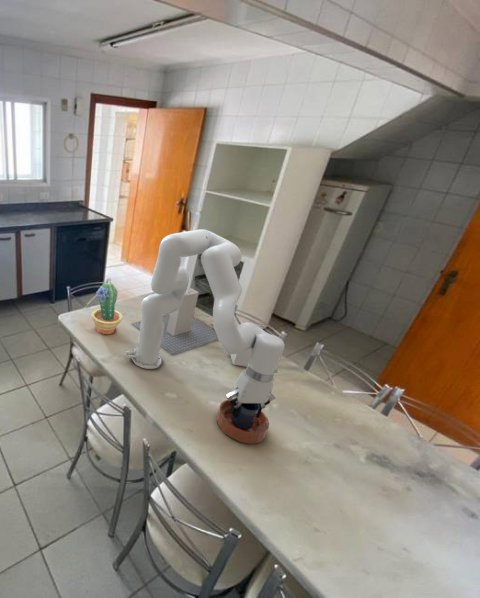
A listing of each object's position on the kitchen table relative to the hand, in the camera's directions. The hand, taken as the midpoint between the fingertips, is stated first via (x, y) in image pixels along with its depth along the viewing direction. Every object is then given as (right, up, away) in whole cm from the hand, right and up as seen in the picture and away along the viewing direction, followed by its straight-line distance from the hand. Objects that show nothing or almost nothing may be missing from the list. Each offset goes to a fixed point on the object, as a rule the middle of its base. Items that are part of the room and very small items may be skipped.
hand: (244, 414), depth 109 cm
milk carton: (+16, +11, +36) cm, 41 cm away
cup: (0, -3, +1) cm, 3 cm away
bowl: (0, -5, +2) cm, 6 cm away
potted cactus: (-42, +23, +55) cm, 73 cm away
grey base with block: (-5, +22, +57) cm, 61 cm away
